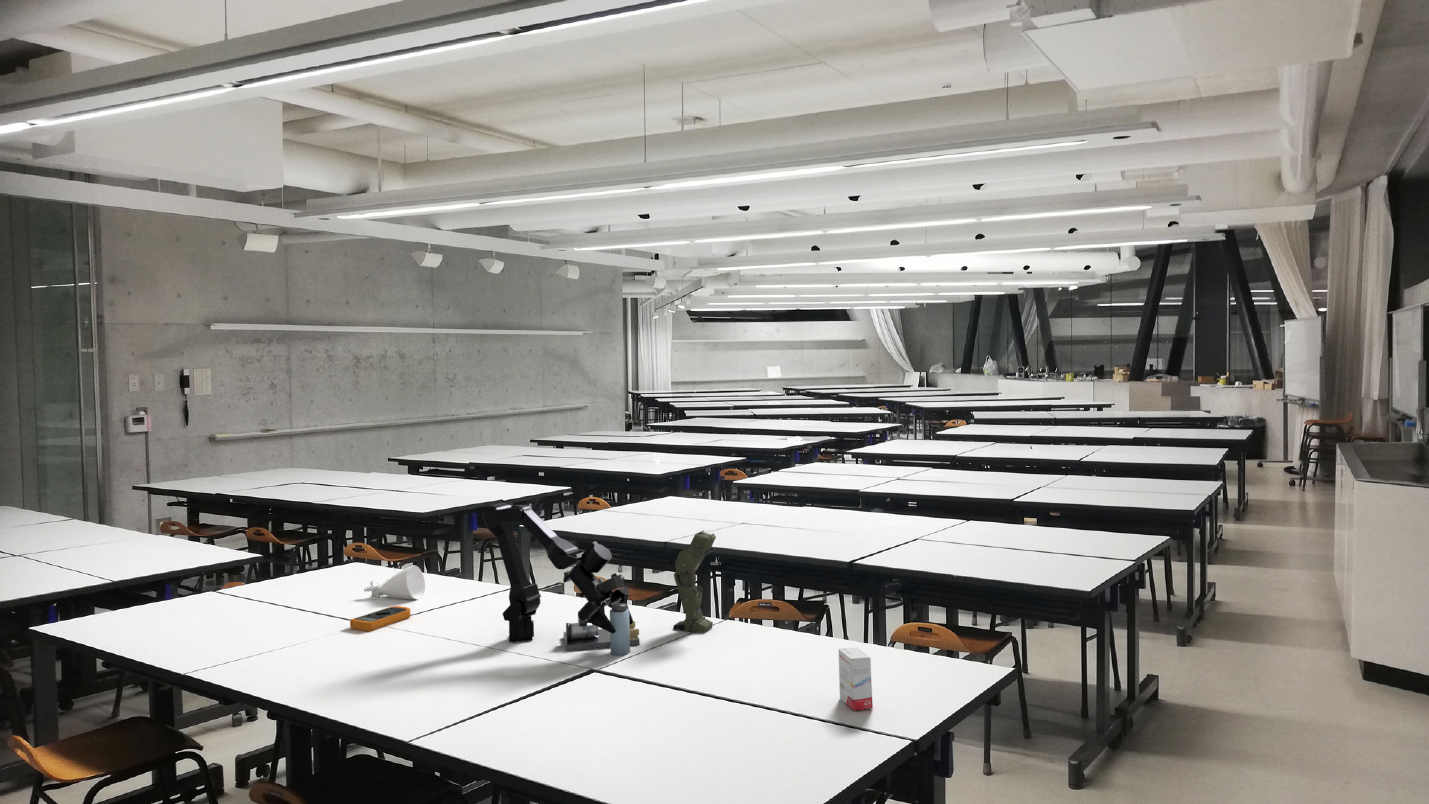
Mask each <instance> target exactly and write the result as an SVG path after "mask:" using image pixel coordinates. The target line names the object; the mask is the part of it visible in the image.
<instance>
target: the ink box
mask: <svg viewBox="0 0 1429 804" xmlns="http://www.w3.org/2000/svg"><path fill="white" fill-rule="evenodd" d="M871 663H872V662H871V657H870V656H869V655H868V654H867V653H866V652H864V651H863V650H862V649H861V648H859V647H858V646H854V647H844V648H842V647H841V648H838V674H839V675H838V679H839V683H838V684H839V699H840V700H841V699H842V700H843V701H842V700H841V701H842V702H843V703H844V702H845V703H846V704H845V703H844V704H845V705H846V706H848V705H849V706H848V707H849V708H850V709H851V708H852V709H853V710H854V712H857V710H859V711H863V710H864V709H865V710H869V709H870V708H871V709H873V708H874V706H873V687H872V664H871ZM852 709H851V710H852ZM853 710H852V711H853ZM865 710H864V711H865Z"/></svg>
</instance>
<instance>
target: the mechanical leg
mask: <svg viewBox="0 0 1429 804" xmlns="http://www.w3.org/2000/svg"><path fill="white" fill-rule="evenodd" d="M716 539H717V537H716V535H715V533H711V534H710V533H708V532H707V533H706V532H705V530H704V529H703V530H701V531H699V532H697V533H694V536H693V538H692V539H691V542H690V544H689V547H687V548H686V549H684V550H681V552H679V553H678V555H677V557H676V560H675V562H674V564H675V572H674V573H673V577H674V578H673V579H674V581H675V584H676V587H677V591H678V595H679V599H680V601H681V607H682V609H683V610H684V612H685V619H684V620H680V621H678V622H676V623H675V624H674V625H673V627H672V629H673V630H675V631H682V632H695V633H704V634H705V633H707V632H708V631H710V630H711V629H713V621H711V620H709V619H707V618H706V616H705V615H703V611H702V608H701V604H702V601H703V588H702V587H701V586H700V585H696V582H697V581H696V579H697V574H696V572H697V571H698V569H699V567H700V566H701V564H702V562H703V560H704V559H705V557H706V556H707V555H709V554H711V553H713V552H715V551H716V547H713V545H714V542H715V540H716Z"/></svg>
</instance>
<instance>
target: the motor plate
mask: <svg viewBox="0 0 1429 804" xmlns="http://www.w3.org/2000/svg"><path fill="white" fill-rule="evenodd" d="M633 621H634V622H633V623H632V624H629V628H630V647H631V646H641V645H640V643H641V642H640V638H639V635H640V629H639V628H636V621H635V620H633ZM563 642H564V644H565V649H566V652H570V651H569V650H574V651H583V650H584V651H585V650H594V649H595V648H597V649H603V648H602V647H609V648H611V646H610V632H608V631H606V630H604V629H602V628H599V627H597V626H595V625H592V624H590V623H586V621H584V622H581V620H580V619H579V618H578V617H577V622H572V623H571V622H566V623H565V631H563Z"/></svg>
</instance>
